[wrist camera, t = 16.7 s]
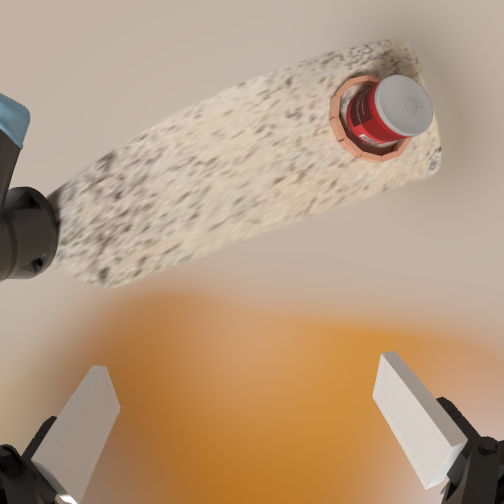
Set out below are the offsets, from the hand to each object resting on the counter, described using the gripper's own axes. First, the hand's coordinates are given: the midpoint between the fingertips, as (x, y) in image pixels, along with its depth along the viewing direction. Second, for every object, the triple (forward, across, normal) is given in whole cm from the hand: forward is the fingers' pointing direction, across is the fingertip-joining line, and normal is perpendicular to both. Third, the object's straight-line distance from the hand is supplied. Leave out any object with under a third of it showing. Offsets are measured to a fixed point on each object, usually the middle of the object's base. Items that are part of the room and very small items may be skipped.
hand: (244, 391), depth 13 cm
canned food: (+30, +19, +18) cm, 40 cm away
